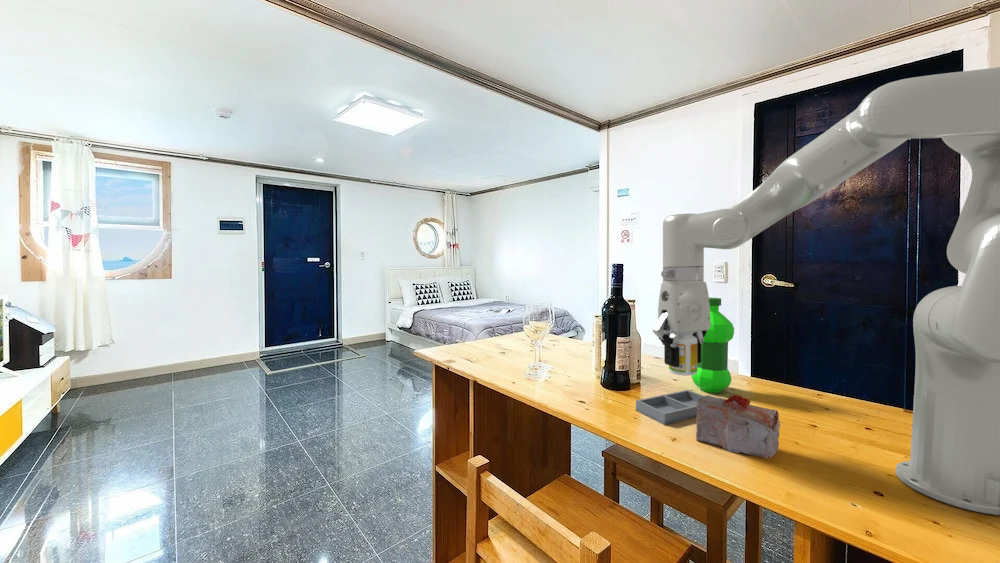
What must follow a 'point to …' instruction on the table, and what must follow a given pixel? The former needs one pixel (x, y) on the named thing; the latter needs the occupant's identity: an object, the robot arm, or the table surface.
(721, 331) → the plastic bottle
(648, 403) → the divided tray
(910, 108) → the robot arm
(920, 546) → the table surface
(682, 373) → the supplement bottle
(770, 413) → the food item
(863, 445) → the table surface
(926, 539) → the table surface
